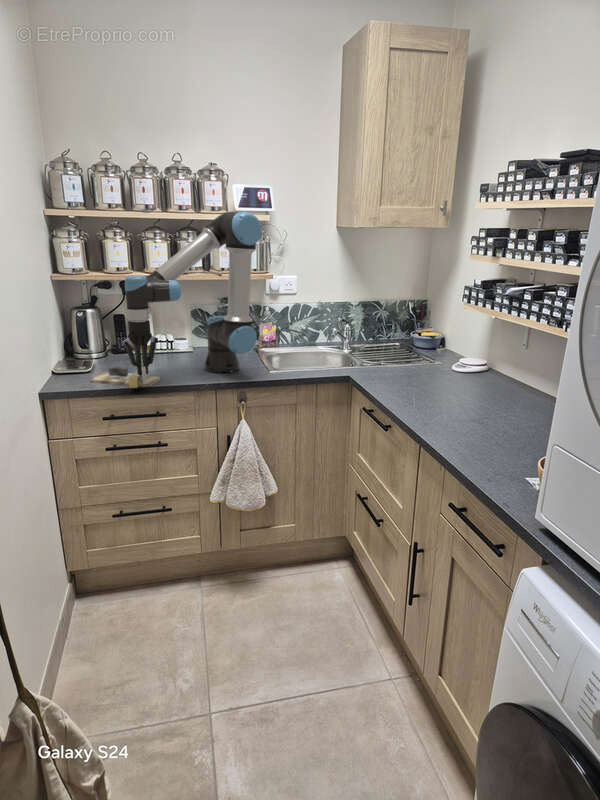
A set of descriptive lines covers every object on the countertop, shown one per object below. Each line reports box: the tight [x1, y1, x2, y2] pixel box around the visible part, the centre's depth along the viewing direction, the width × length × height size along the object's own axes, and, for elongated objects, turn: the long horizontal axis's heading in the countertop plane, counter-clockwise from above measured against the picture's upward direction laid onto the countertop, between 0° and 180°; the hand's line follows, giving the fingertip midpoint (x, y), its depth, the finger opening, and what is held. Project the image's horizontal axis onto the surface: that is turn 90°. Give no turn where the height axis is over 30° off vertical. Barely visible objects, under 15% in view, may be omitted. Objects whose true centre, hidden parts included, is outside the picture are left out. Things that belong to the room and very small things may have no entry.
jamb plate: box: [124, 375, 161, 388], centre depth 212 cm, size 10×10×4 cm
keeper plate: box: [89, 366, 133, 386], centre depth 214 cm, size 14×12×4 cm
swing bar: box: [128, 367, 141, 389], centre depth 206 cm, size 16×4×4 cm, turn 2°
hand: (143, 383), depth 202 cm, fingers closed
